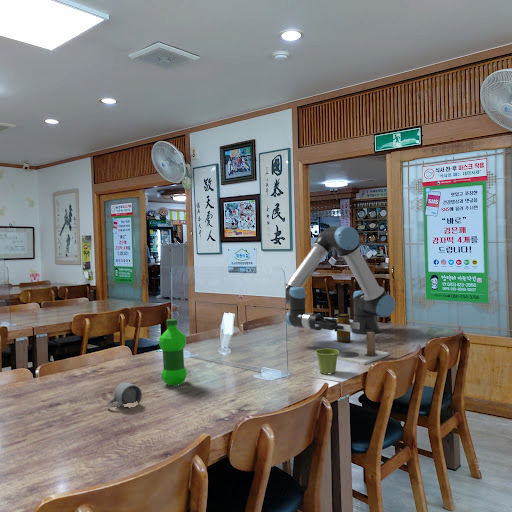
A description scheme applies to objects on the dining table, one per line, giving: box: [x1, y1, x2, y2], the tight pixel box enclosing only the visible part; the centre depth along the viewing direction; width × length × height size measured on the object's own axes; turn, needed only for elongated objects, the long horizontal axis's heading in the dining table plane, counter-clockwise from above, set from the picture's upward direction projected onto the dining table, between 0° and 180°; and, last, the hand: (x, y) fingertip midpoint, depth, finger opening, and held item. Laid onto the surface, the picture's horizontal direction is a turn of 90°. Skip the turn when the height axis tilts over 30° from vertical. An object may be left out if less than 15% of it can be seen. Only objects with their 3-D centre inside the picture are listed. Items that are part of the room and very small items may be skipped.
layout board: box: [337, 332, 390, 365], centre depth 211 cm, size 20×18×11 cm
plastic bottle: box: [158, 318, 188, 386], centre depth 182 cm, size 10×10×25 cm
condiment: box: [333, 313, 358, 345], centre depth 210 cm, size 7×8×12 cm
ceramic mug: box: [107, 382, 143, 408], centre depth 161 cm, size 11×8×8 cm
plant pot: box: [315, 348, 340, 375], centre depth 189 cm, size 9×9×9 cm
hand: (354, 327), depth 207 cm, fingers closed on condiment, 6 cm apart
